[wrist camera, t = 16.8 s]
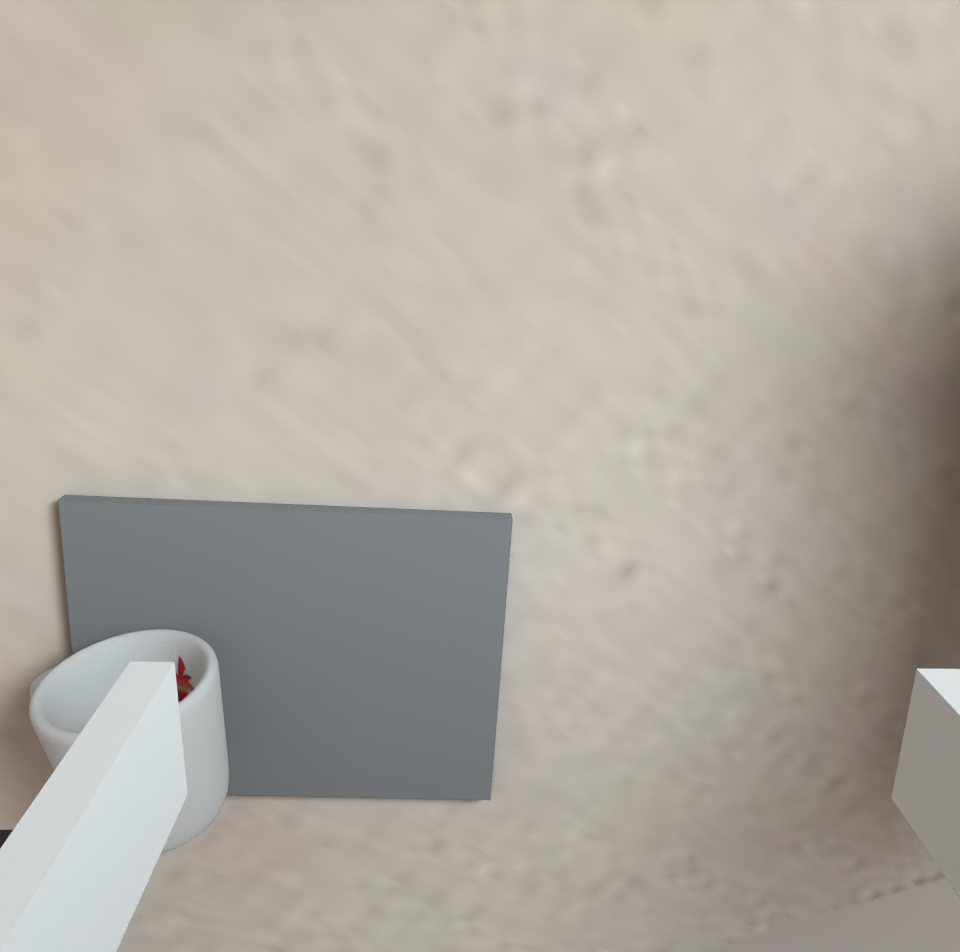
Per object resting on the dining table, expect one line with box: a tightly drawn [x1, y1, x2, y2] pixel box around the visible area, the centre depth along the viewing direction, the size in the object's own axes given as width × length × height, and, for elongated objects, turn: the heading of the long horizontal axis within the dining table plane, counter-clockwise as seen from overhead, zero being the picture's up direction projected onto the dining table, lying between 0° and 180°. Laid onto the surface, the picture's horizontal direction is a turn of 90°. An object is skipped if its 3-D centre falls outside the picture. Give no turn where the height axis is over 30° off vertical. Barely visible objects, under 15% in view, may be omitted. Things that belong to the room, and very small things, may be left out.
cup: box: [29, 629, 229, 853], centre depth 42 cm, size 11×8×8 cm
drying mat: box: [58, 495, 513, 800], centre depth 45 cm, size 21×16×1 cm
